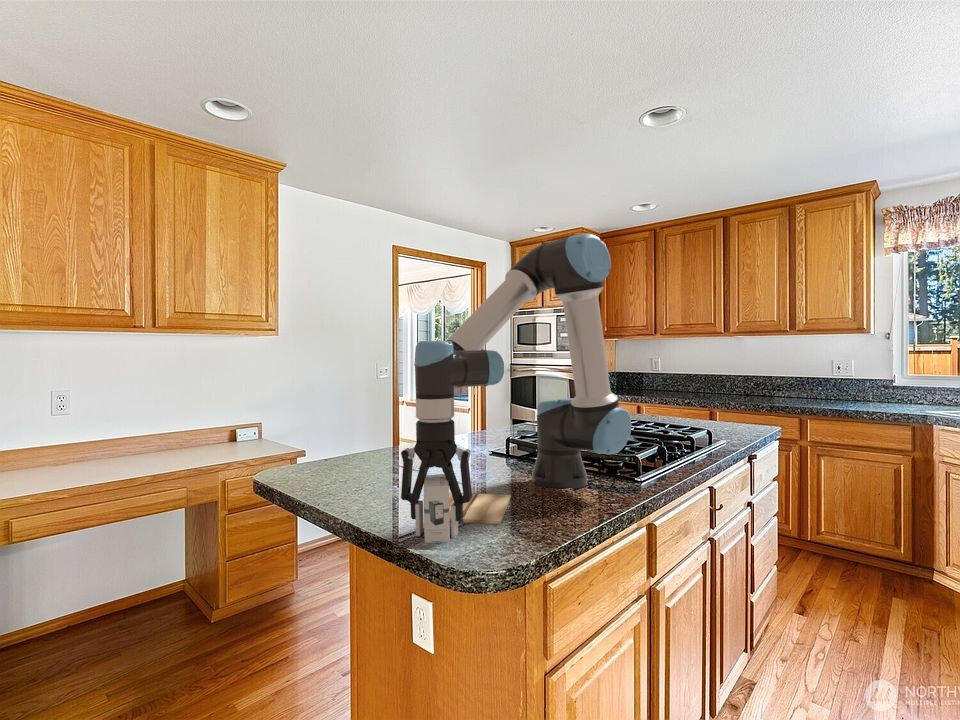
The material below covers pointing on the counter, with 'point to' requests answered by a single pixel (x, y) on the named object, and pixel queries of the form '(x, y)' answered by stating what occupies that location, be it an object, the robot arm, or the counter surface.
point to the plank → (487, 509)
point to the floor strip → (465, 505)
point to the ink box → (436, 509)
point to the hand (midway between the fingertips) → (437, 535)
